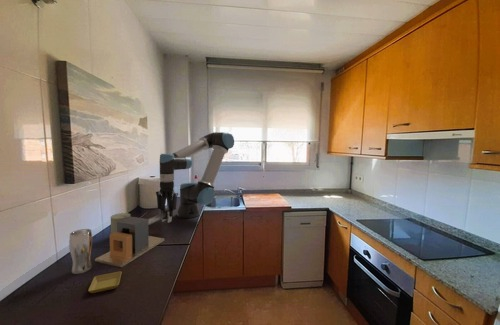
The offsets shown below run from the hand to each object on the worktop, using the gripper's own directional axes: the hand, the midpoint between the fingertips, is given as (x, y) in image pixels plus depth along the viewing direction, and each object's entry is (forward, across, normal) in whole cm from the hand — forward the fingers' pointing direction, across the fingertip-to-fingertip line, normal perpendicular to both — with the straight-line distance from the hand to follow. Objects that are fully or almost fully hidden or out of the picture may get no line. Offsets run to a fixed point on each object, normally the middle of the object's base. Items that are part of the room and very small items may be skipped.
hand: (166, 221), depth 122 cm
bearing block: (+6, 0, -24) cm, 25 cm away
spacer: (+5, 0, -31) cm, 31 cm away
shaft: (-2, 0, -12) cm, 12 cm away
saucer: (+6, +11, -47) cm, 49 cm away
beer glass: (+6, -6, -43) cm, 44 cm away
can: (+6, -17, -15) cm, 23 cm away
